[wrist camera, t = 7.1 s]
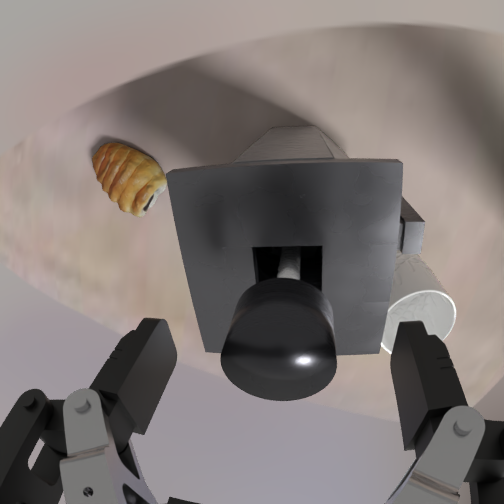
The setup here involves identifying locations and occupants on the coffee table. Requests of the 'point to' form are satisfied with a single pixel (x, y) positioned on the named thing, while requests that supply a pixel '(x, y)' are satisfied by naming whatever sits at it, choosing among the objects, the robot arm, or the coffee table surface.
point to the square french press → (295, 230)
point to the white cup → (417, 300)
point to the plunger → (282, 334)
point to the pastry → (129, 177)
